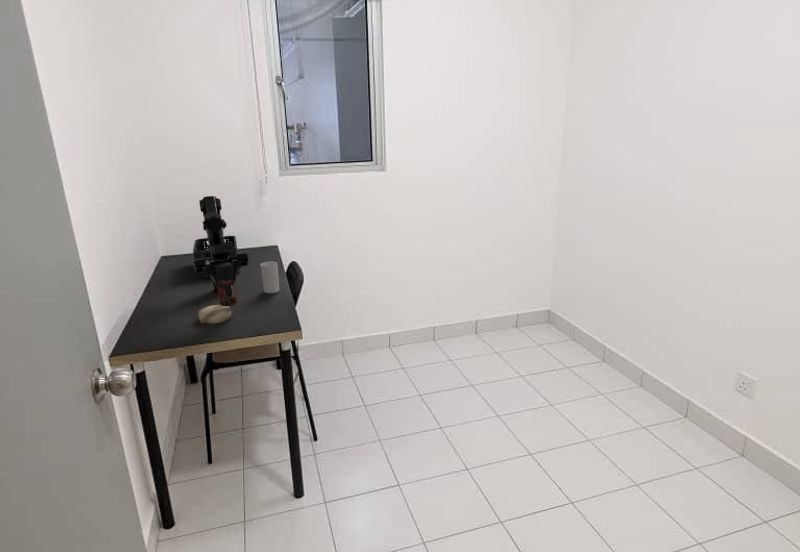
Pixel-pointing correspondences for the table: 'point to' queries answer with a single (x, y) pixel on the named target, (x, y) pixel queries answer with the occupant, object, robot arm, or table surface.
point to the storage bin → (204, 253)
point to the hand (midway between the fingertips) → (226, 282)
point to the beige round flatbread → (214, 314)
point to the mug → (270, 277)
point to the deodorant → (226, 284)
